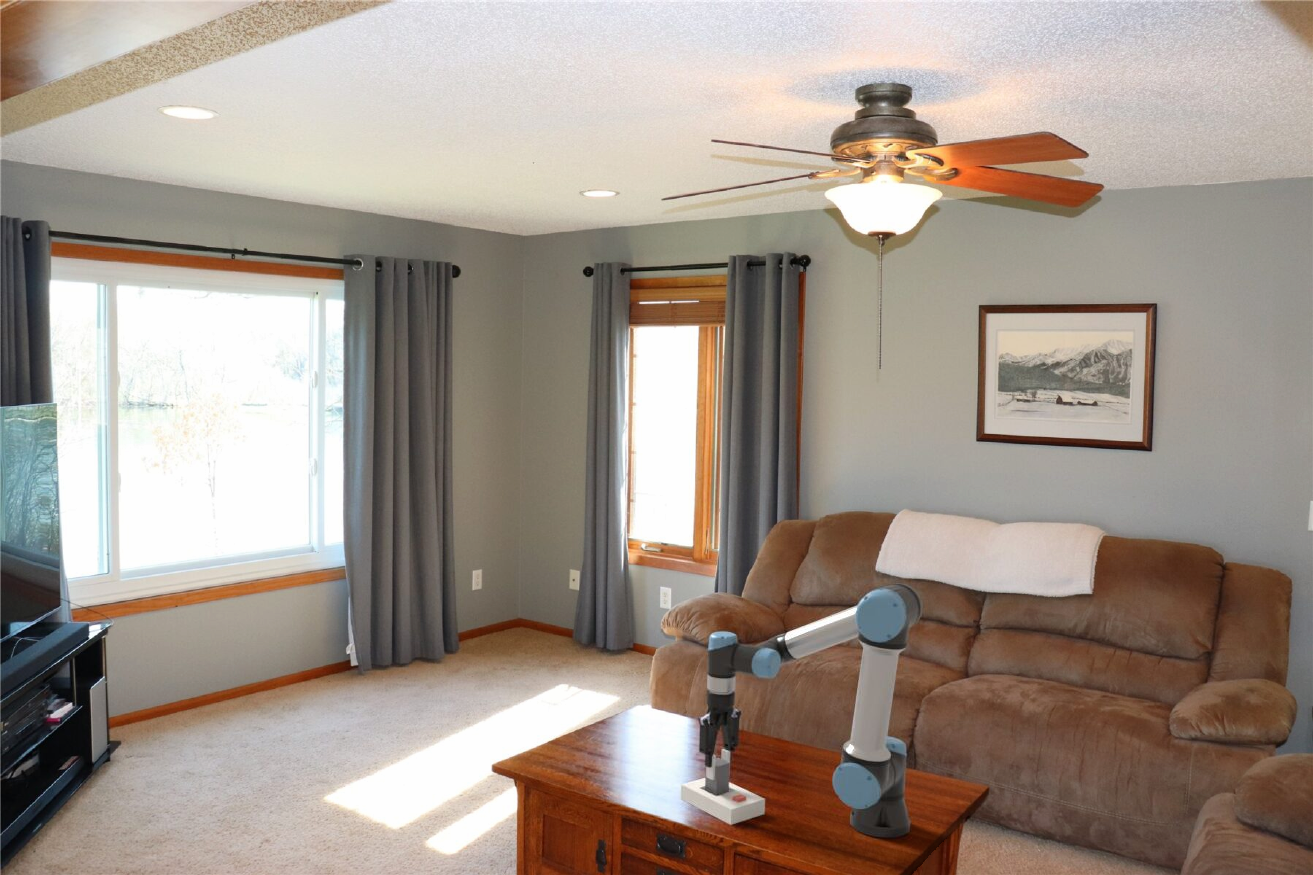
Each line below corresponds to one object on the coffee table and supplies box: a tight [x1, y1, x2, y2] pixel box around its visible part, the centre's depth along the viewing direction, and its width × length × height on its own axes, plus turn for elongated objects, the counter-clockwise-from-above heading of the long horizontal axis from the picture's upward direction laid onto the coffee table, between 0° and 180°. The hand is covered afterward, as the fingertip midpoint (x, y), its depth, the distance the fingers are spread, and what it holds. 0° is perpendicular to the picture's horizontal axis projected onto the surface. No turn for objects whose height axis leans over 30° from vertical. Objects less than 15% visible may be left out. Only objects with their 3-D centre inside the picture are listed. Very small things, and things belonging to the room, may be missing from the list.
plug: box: [704, 757, 731, 796], centre depth 280 cm, size 4×4×8 cm
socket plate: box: [680, 777, 766, 826], centre depth 278 cm, size 20×12×5 cm, turn 38°
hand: (717, 775), depth 280 cm, fingers closed on plug, 4 cm apart
